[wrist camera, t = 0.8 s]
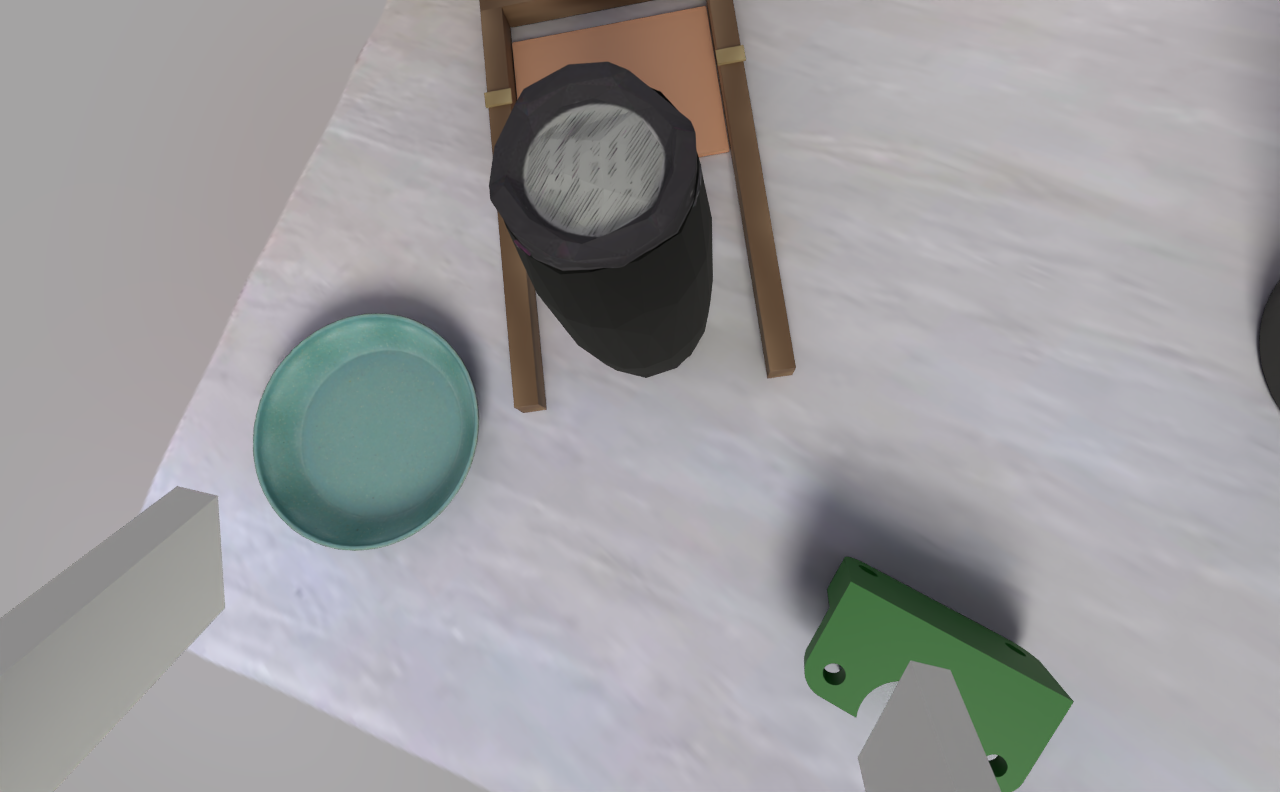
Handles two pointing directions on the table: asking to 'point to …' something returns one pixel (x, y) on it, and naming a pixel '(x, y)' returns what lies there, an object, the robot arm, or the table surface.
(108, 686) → the robot arm
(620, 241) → the portable speaker
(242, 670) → the table surface
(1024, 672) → the clamp
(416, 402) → the saucer
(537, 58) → the flat panel
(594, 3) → the rail track
